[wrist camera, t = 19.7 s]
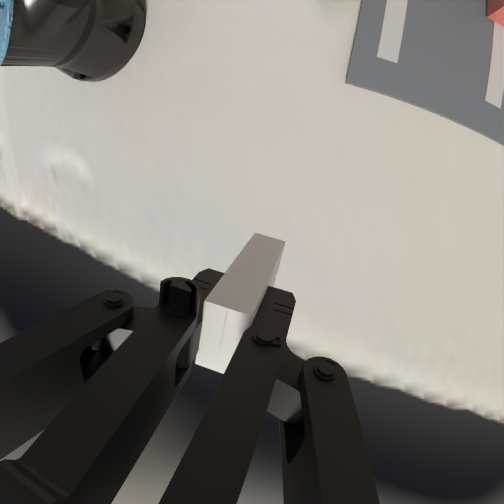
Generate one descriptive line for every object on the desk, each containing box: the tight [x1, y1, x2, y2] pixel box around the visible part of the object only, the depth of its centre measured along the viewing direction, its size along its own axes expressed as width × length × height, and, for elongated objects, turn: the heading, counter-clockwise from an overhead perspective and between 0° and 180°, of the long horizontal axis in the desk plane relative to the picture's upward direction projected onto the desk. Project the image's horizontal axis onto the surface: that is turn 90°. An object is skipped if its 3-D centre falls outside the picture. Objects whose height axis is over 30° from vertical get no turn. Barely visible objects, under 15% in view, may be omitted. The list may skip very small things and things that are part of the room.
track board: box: [345, 0, 504, 145], centre depth 25 cm, size 24×22×3 cm
